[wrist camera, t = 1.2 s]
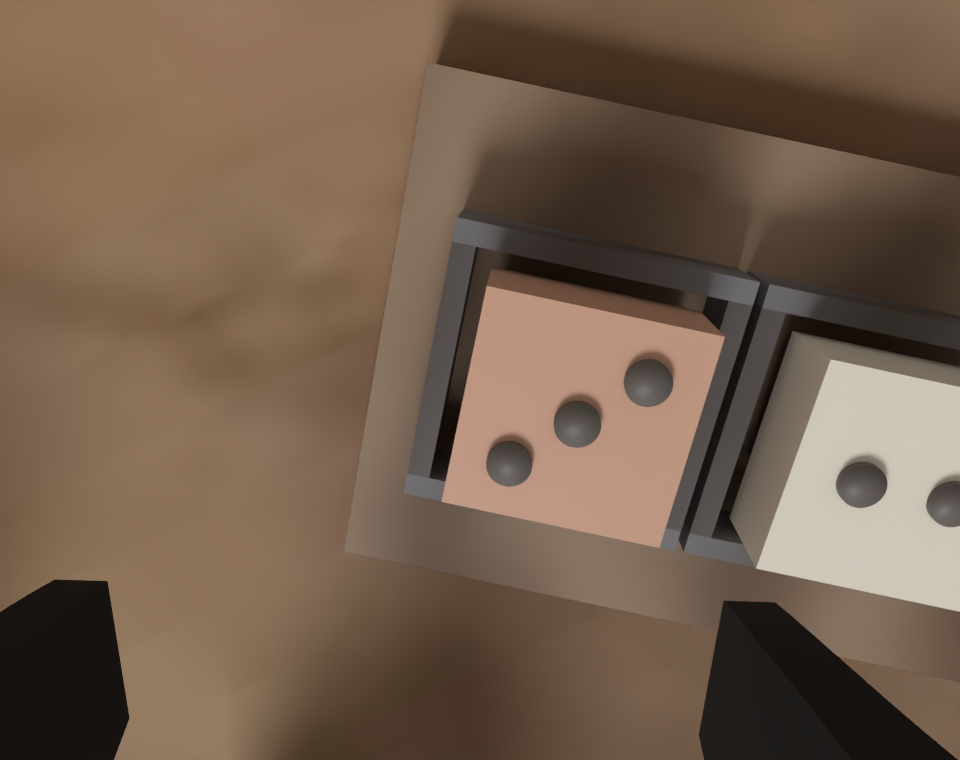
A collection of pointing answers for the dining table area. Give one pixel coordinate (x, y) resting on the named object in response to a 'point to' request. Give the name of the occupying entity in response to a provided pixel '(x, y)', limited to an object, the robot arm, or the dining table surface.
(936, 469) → the tile two
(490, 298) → the tile three
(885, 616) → the panel
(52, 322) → the dining table surface
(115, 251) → the dining table surface
